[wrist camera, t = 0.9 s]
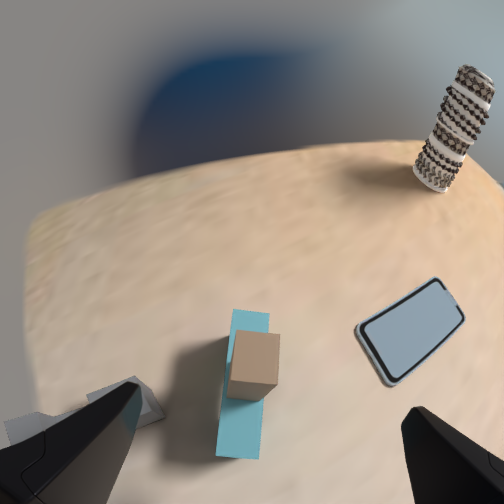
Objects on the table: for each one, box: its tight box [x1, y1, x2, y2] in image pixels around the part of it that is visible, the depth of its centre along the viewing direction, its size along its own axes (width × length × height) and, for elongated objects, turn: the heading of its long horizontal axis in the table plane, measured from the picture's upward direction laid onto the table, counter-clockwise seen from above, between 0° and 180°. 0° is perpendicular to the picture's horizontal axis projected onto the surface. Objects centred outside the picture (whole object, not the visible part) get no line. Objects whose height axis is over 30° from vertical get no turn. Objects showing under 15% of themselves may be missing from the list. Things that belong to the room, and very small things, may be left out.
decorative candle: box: [413, 64, 495, 193], centre depth 36 cm, size 9×9×25 cm
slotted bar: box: [4, 376, 165, 446], centre depth 14 cm, size 12×2×5 cm, turn 122°
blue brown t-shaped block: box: [216, 309, 280, 459], centre depth 16 cm, size 10×2×10 cm, turn 175°
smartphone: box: [356, 276, 466, 386], centre depth 25 cm, size 7×1×15 cm
